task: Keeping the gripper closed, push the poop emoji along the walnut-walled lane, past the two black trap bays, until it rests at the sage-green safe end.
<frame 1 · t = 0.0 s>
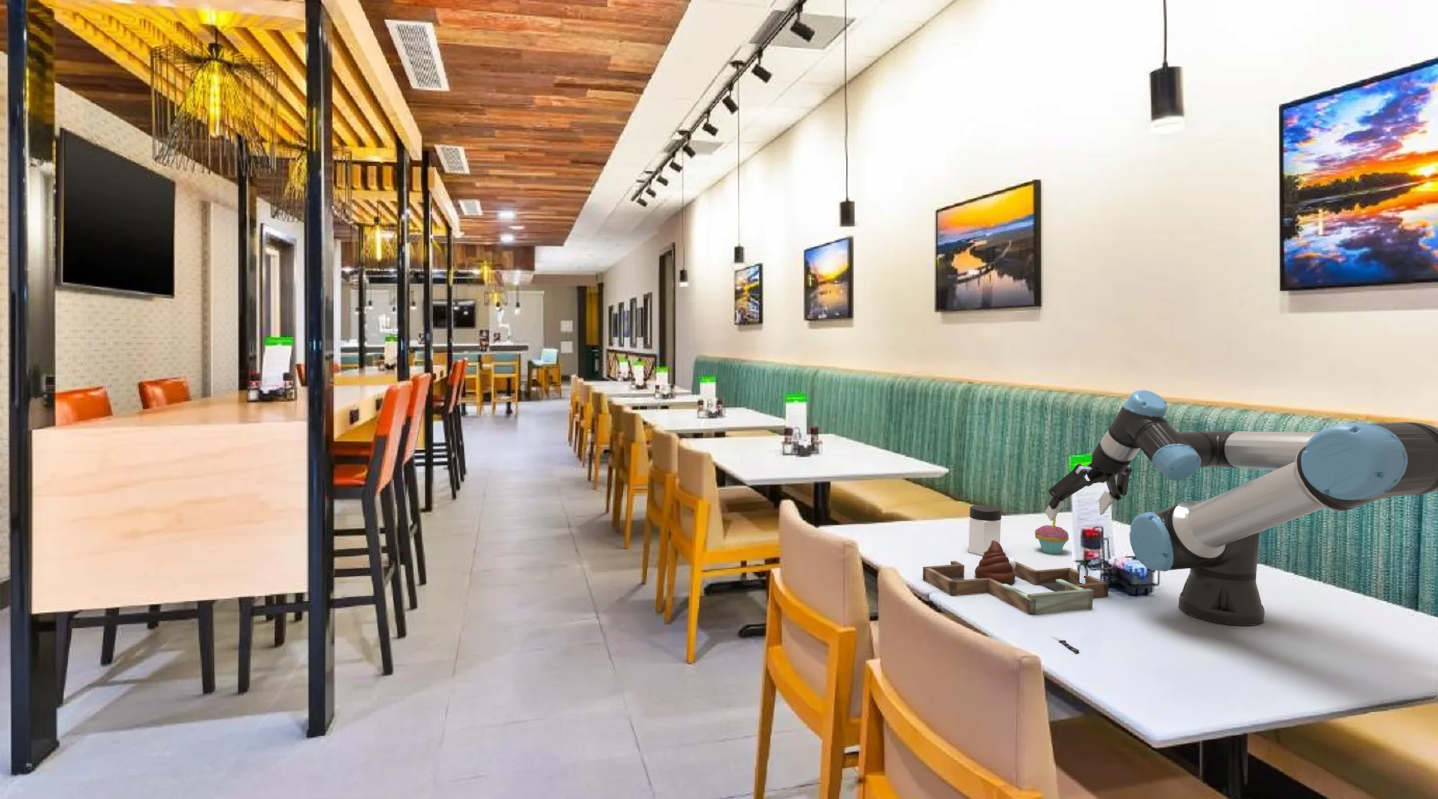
hand: (1072, 514, 187), 15 cm above the table, tool tilted 35°, fingers open, 13 cm apart
jar: (984, 552, 210), on the table
cupcake: (1050, 552, 211), on the table
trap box: (1016, 589, 178), on the table
knife: (1044, 637, 151), on the table
poop emoji: (995, 580, 186), resting in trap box
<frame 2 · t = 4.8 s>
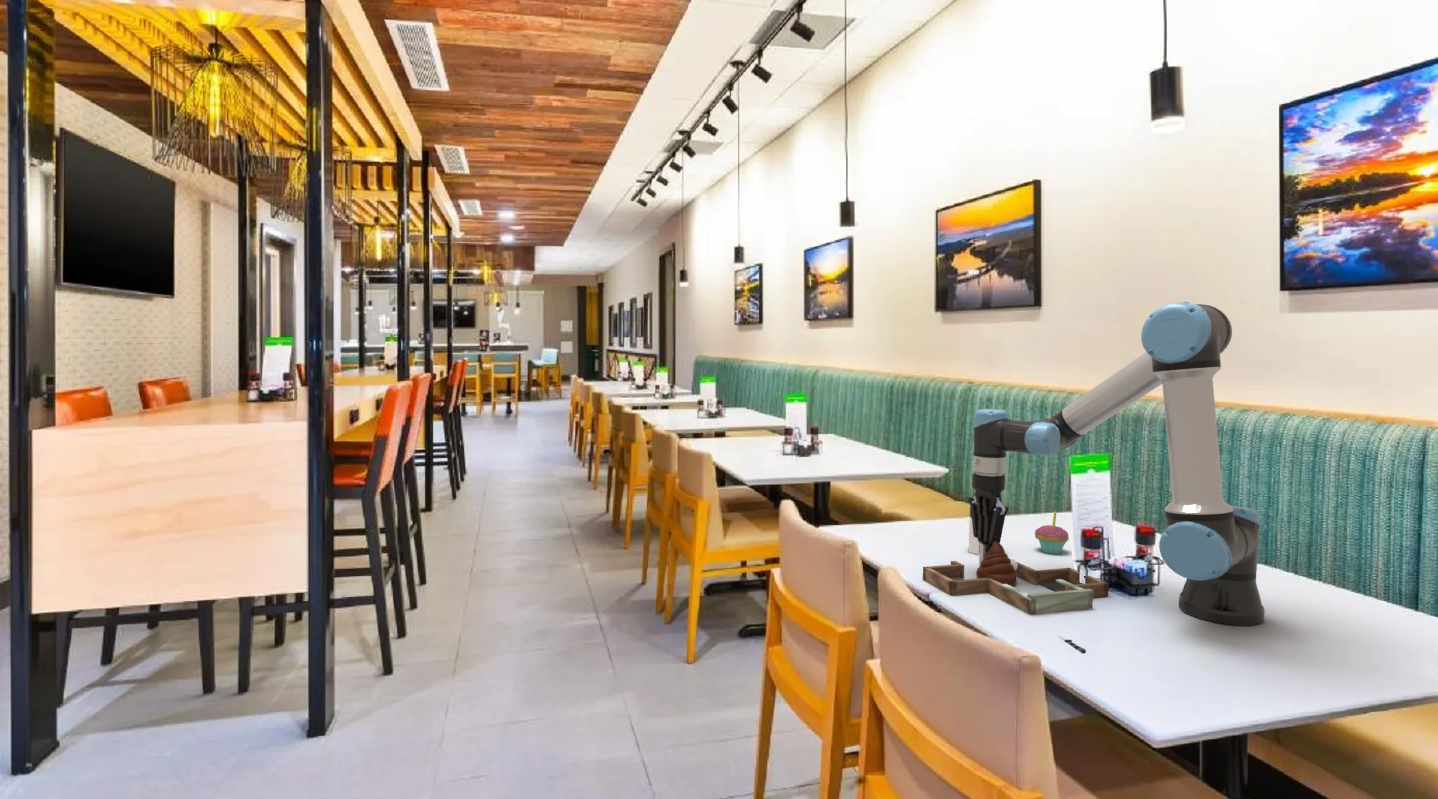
hand: (985, 569, 190), 1 cm above the table, tool pointing down, fingers closed
knife: (1049, 637, 151), on the table
poop emoji: (996, 581, 185), resting in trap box, touching gripper
everything else where it was.
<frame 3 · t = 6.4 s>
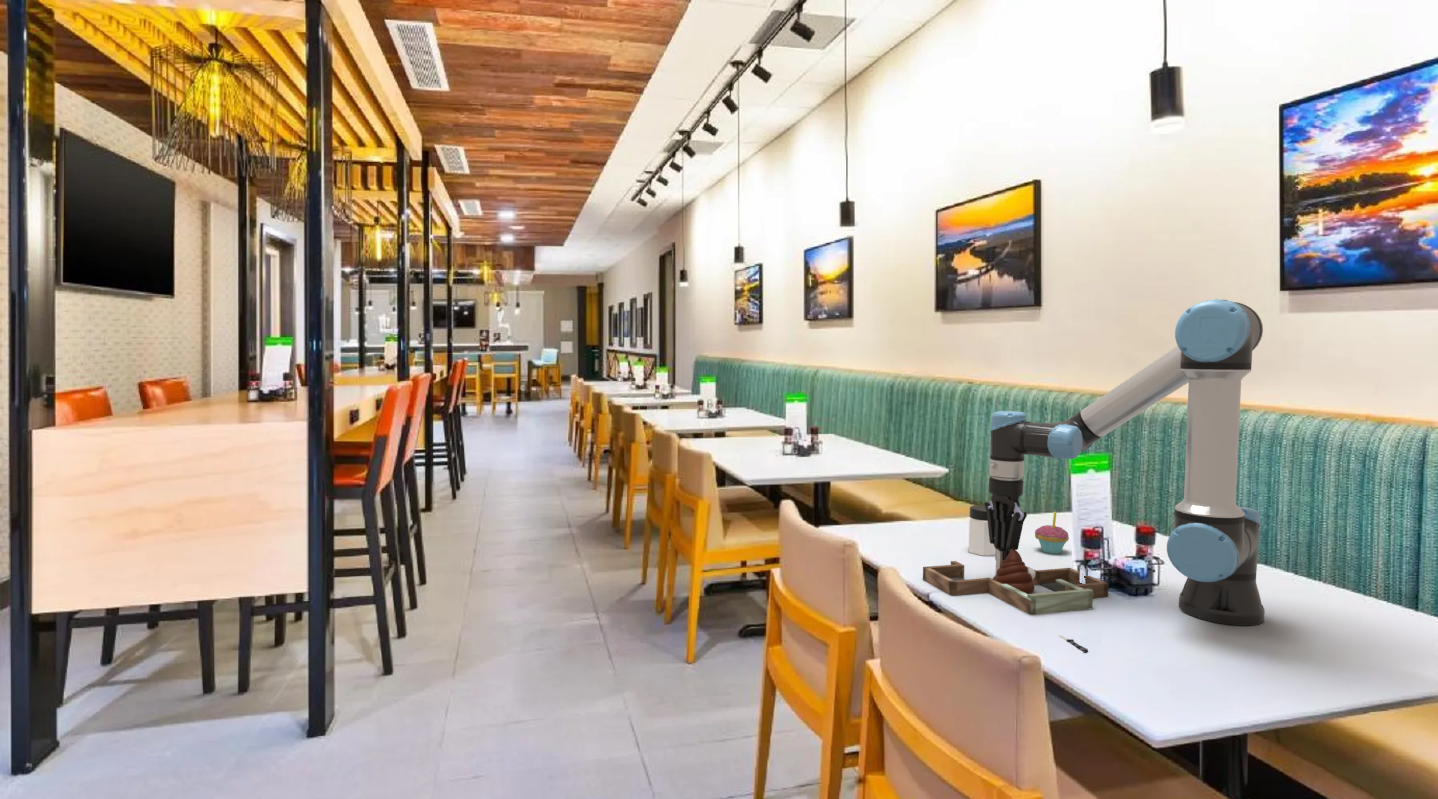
hand: (1002, 576, 183), 1 cm above the table, tool pointing down, fingers closed
poop emoji: (1013, 591, 178), resting in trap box, touching gripper
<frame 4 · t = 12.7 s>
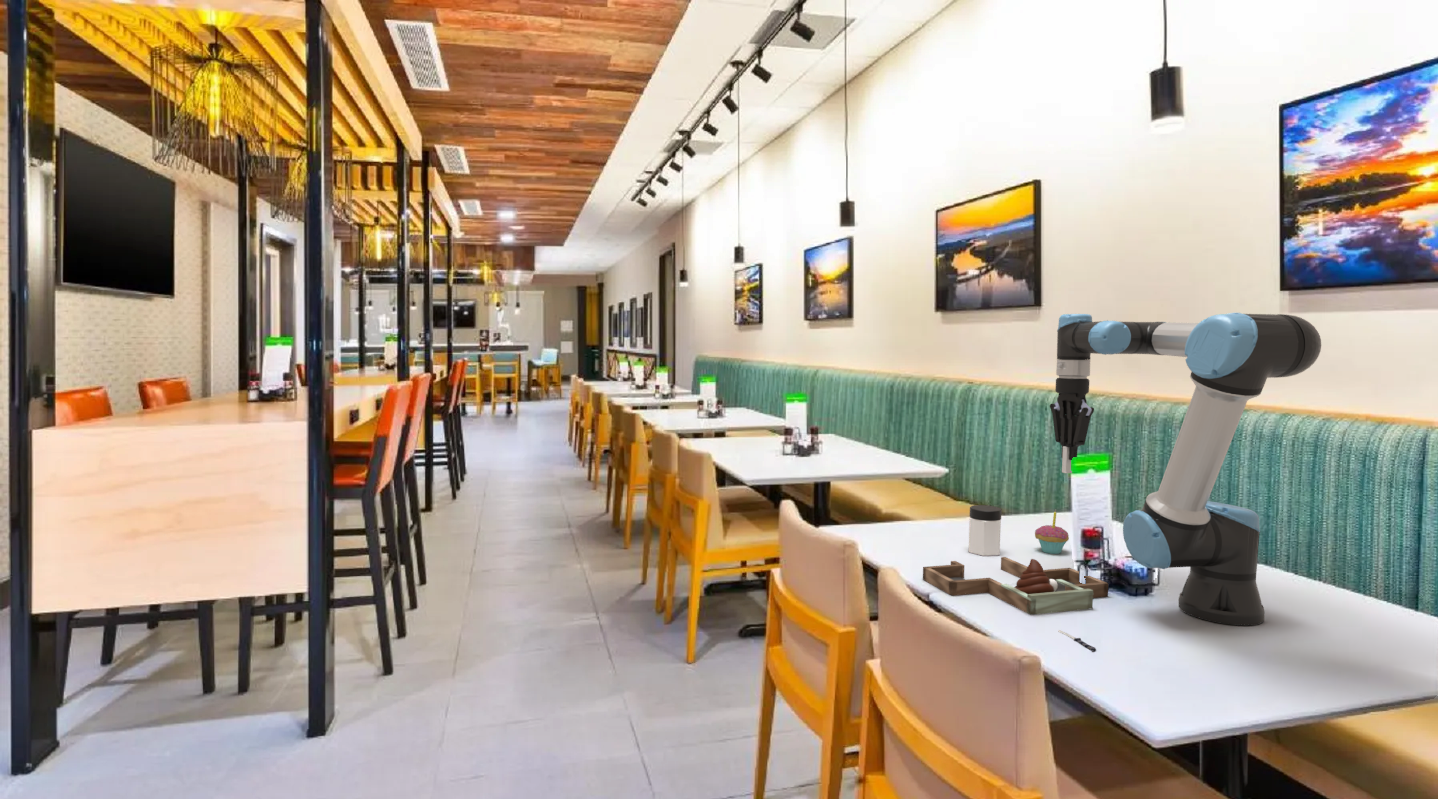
hand: (1068, 472, 193), 24 cm above the table, tool pointing down, fingers closed
knife: (1058, 635, 152), on the table
poop emoji: (1034, 603, 170), resting in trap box
everything else where it was.
at the end: poop emoji inside the target area on the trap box (1.4 cm from its centre), point 0.0 cm above the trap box's base; poop emoji tilted 0° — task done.
